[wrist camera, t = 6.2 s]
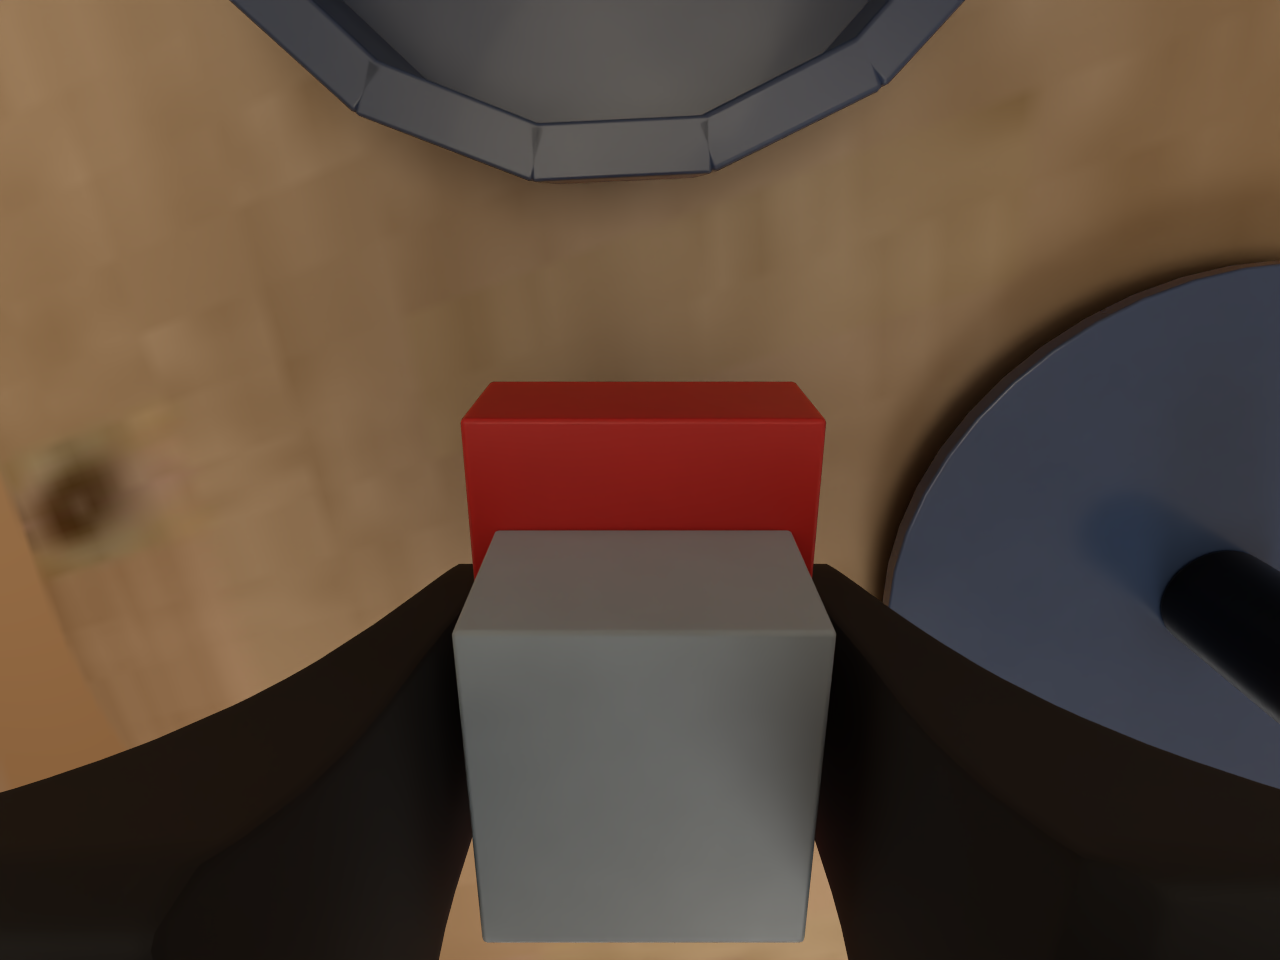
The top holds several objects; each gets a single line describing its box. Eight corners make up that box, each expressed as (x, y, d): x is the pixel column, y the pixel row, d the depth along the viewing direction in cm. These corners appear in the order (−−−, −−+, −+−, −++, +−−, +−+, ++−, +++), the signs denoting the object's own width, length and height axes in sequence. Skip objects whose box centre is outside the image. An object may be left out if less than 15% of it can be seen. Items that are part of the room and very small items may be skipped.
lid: (1077, 147, 15) (1259, 130, 11) (1659, 396, 17) (2023, 469, 12) (778, 723, 20) (817, 876, 15) (1252, 869, 22) (1409, 1043, 17)
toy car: (497, 370, 11) (399, 493, 6) (787, 370, 11) (890, 494, 6) (524, 776, 13) (467, 1065, 9) (759, 775, 13) (818, 1065, 9)
